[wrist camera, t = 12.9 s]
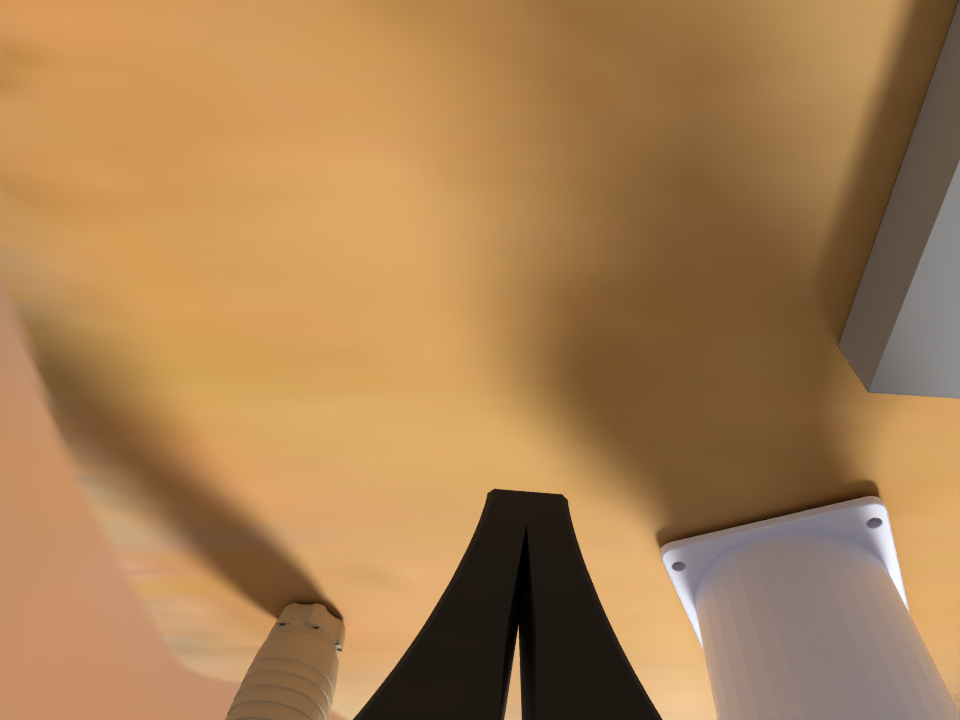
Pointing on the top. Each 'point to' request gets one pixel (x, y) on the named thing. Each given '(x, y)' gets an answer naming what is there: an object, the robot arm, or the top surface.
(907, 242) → the plate
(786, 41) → the top surface
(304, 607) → the handle
